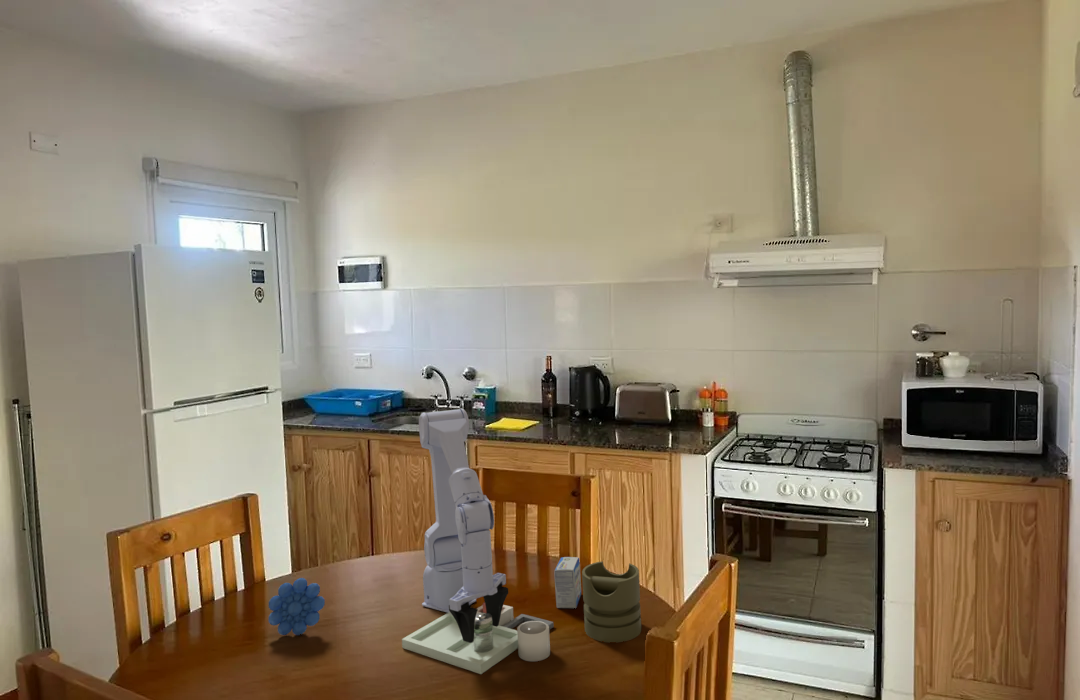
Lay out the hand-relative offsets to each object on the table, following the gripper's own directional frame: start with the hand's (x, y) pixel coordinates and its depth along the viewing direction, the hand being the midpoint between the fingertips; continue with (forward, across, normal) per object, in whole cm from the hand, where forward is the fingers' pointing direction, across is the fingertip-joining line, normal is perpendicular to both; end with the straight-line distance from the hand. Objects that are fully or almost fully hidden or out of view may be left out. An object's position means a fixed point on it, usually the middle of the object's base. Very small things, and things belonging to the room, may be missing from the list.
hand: (481, 632), depth 141 cm
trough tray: (+3, 0, +4) cm, 6 cm away
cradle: (+3, +11, -2) cm, 12 cm away
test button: (+3, +10, +6) cm, 12 cm away
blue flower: (+4, -13, +38) cm, 41 cm away
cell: (+3, 0, 0) cm, 3 cm away
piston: (+4, +20, -18) cm, 27 cm away
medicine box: (+4, +27, -2) cm, 27 cm away
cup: (+3, +4, -10) cm, 11 cm away
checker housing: (+3, +10, +6) cm, 12 cm away
